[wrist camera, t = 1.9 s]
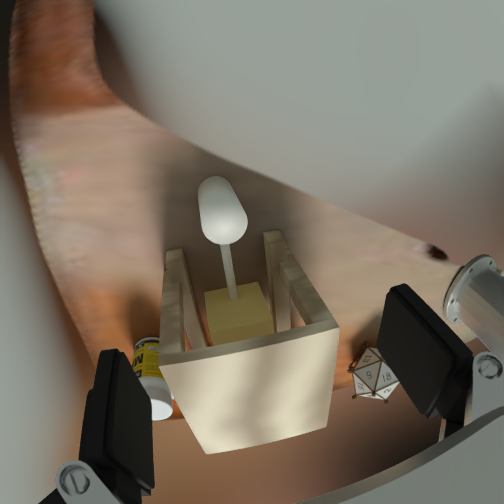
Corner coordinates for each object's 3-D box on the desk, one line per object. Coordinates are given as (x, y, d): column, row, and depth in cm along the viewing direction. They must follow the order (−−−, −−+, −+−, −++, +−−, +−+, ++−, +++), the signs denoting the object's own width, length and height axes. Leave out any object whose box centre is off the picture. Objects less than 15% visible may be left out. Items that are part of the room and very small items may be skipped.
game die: (361, 328, 43) (420, 334, 35) (367, 372, 45) (422, 383, 37) (324, 360, 38) (389, 374, 30) (334, 406, 40) (392, 424, 31)
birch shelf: (286, 228, 29) (341, 303, 19) (292, 347, 37) (326, 426, 26) (158, 252, 27) (148, 344, 17) (195, 367, 35) (206, 454, 25)
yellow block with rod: (244, 171, 26) (263, 194, 20) (262, 321, 34) (279, 368, 28) (180, 182, 25) (178, 210, 19) (213, 332, 33) (221, 380, 27)
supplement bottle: (138, 330, 31) (132, 391, 24) (179, 341, 33) (182, 401, 26) (130, 358, 33) (125, 417, 25) (168, 368, 34) (170, 425, 27)
